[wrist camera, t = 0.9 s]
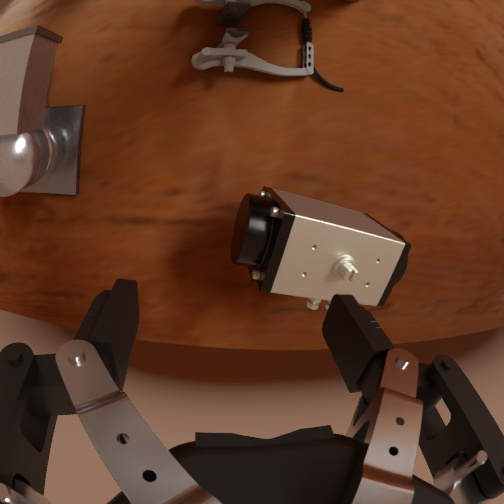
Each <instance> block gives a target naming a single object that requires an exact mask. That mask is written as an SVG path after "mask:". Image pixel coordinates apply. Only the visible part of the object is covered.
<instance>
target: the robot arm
mask: <svg viewBox="0 0 504 504" xmlns="http://www.w3.org/2000/svg"><path fill="white" fill-rule="evenodd" d="M343 1H359V0H343ZM138 324H139V306H138V291H137V282H136V280H127V279H117V280H116V282H115V284H114V286H113V288H112V290H111V291H110V290H103V291H102V292H101V293H100V294H98V295H97V296H96V297H95V298H94V300H93V302H92V304H91V307H90V308H89V310H88V312H87V314H86V316H85V318H84V320H83V322H82V324H81V326H80V328H79V330H78V332H77V334H76V337H75V339H74V340H71V341H68V342H66V343H64V344H63V345H61V346H60V347H59V348H58V350H57V352H56V353H55V354H45V355H34V354H33V352H32V350H31V348H30V347H29V346H28V345H26V344H24V343H12V344H10V345H7V346H6V347H5V348H3V349H2V351H1V352H0V504H51V503H50V501H49V500H48V499H47V498H45V497H44V496H43V494H44V486H45V478H46V471H47V465H48V459H49V453H50V448H51V443H52V438H53V433H54V429H55V425H56V420H57V416H58V415H71V414H77V415H78V417H79V419H80V421H81V423H82V425H83V427H84V429H85V431H86V433H87V434H88V436H89V438H90V440H91V442H92V444H93V445H94V447H95V449H96V451H97V452H98V454H99V456H100V458H101V459H102V461H103V463H104V464H105V466H106V467H107V469H108V471H109V472H110V473H111V475H112V477H113V478H114V480H115V481H116V483H117V484H118V486H119V487H120V489H121V490H122V491H121V492H120V493H119V494H117V496H115V497H114V498H113V499H112V500H111V501H110V502H108V503H107V504H487V503H488V502H490V501H491V500H493V499H494V498H496V497H498V496H499V495H501V494H502V493H503V492H504V435H503V434H502V432H501V430H500V429H499V427H498V425H497V424H496V422H495V420H494V418H493V417H492V415H491V414H490V412H489V411H488V409H487V407H486V406H485V404H484V402H483V401H482V399H481V398H480V396H479V395H478V393H477V392H476V390H475V389H474V387H473V386H472V384H471V383H470V381H469V380H468V378H467V377H466V376H465V374H464V373H463V371H462V370H461V368H460V367H459V366H458V364H457V363H456V362H455V361H454V360H453V359H452V358H450V357H448V356H445V355H438V356H436V357H435V358H434V360H433V361H432V363H431V364H425V363H418V361H417V359H416V358H415V357H414V356H413V355H412V354H411V353H410V352H408V351H406V350H403V349H399V348H395V347H394V346H393V344H392V343H391V341H390V340H389V338H388V337H387V336H386V334H385V333H384V331H383V330H382V328H381V329H380V326H379V324H378V323H377V322H376V320H375V319H374V317H373V316H372V314H371V313H370V312H369V311H367V310H366V309H365V308H364V307H362V306H360V305H359V303H358V302H357V300H356V299H355V298H354V296H353V295H351V294H335V295H334V296H333V297H332V300H331V303H330V305H329V308H328V311H327V314H326V317H325V319H324V322H323V327H322V331H323V336H324V339H325V341H326V343H327V345H328V347H329V349H330V351H331V353H332V355H333V358H334V360H335V362H336V364H337V366H338V368H339V370H340V372H341V375H342V376H343V379H344V381H345V383H346V385H347V388H348V390H349V392H350V393H353V392H359V391H361V392H362V396H361V397H360V399H359V401H358V404H357V407H356V410H355V413H354V416H353V419H352V421H351V424H350V426H349V429H348V432H347V433H346V435H345V436H344V435H339V434H333V431H332V429H331V426H330V425H327V426H321V427H314V428H305V429H299V430H296V431H293V432H291V433H288V434H285V435H282V436H279V437H275V438H272V439H260V438H255V437H249V436H243V435H238V434H233V433H199V432H196V433H195V434H196V435H195V441H193V442H188V443H184V444H181V445H178V446H176V447H173V448H171V449H169V450H167V449H166V447H165V446H164V445H163V444H162V442H161V441H160V440H159V439H158V437H157V436H156V435H155V433H154V432H153V431H152V429H151V428H150V427H149V425H148V424H147V423H146V421H145V420H144V419H143V417H142V416H141V415H140V413H139V412H138V410H137V409H136V407H135V406H134V404H133V403H132V402H131V400H130V399H129V397H128V396H127V394H126V393H125V392H120V391H123V386H124V382H125V377H126V373H127V369H128V365H129V360H130V356H131V352H132V348H133V344H134V341H135V337H136V333H137V329H138ZM441 398H443V400H444V402H445V404H446V405H447V407H448V409H449V411H450V413H451V420H450V422H449V424H448V425H447V426H445V424H444V422H443V420H442V418H441V416H440V415H439V413H438V411H437V409H436V407H435V405H436V404H437V403H438V402H439V400H440V399H441ZM418 444H419V446H420V448H421V450H422V453H423V455H424V457H425V460H426V462H427V464H428V467H429V469H430V471H431V474H432V476H433V479H434V485H431V484H429V483H427V482H426V481H424V480H422V479H420V478H418V477H416V476H415V475H413V470H414V465H415V459H416V454H417V449H418Z"/></svg>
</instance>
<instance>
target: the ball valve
mask: <svg viewBox="0 0 504 504" xmlns="http://www.w3.org/2000/svg"><path fill="white" fill-rule="evenodd" d="M410 248H411V244H410V243H408V242H407V241H405V239H404V238H403V237H402V236H401V235H400V234H399V233H397V232H394V231H391V230H390V229H388V228H387V227H385V226H384V225H383V224H381V223H380V222H378V221H377V220H375V219H374V218H372V217H371V216H369V215H367V214H364V213H361V212H357V211H354V210H351V209H347V208H344V207H340V206H337V205H333V204H330V203H326V202H323V201H319V200H315V199H312V198H308V197H304V196H300V195H297V194H293V193H289V192H285V191H281V190H277V189H273V188H269V187H264V186H263V189H262V191H260V193H259V196H258V195H254V194H249V193H248V194H246V195H245V196H244V197H243V199H242V202H241V204H240V207H239V210H238V213H237V217H236V221H235V225H234V231H233V237H232V245H231V259H232V262H233V263H234V264H238V265H244V266H248V268H249V272H250V276H251V279H252V282H254V283H258V286H259V289H260V291H264V292H271V293H278V294H285V295H292V296H299V297H307V298H309V300H308V302H307V307H308V308H310V309H313V310H316V309H317V308H318V306H319V303H320V302H321V299H323V300H328V301H327V303H326V305H325V308H326V309H327V310H328V308H329V305H330V303H331V300H332V297H333V296H334V295H335V294H351V295H353V296H354V298H355V299H356V300H357V302H358V303H359V304H365V305H374V306H384V304H385V302H386V300H387V298H388V296H389V294H390V292H391V290H392V288H393V286H395V285H396V284H397V283H398V282H399V281H400V280H401V278H402V277H403V275H404V273H405V270H406V267H407V263H408V253H409V251H410Z"/></svg>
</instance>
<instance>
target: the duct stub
mask: <svg viewBox="0 0 504 504" xmlns="http://www.w3.org/2000/svg"><path fill="white" fill-rule="evenodd" d="M85 107H86V105H74V106H56V107H45V115H44V125H43V131H44V132H45V134H46V136H47V139H48V142H49V148H50V156H49V163H48V166H47V169H46V171H45V173H44V175H43V176H42V178H41V179H40V180H39V181H38V182H37V183H35V184H33V185H31V186H29V187H27V188H25V189H23V190H20V191H18V192H35V193H53V194H69V195H77V194H78V193H79V172H80V154H81V141H82V131H83V122H84V114H85Z"/></svg>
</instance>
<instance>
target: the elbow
mask: <svg viewBox="0 0 504 504" xmlns="http://www.w3.org/2000/svg"><path fill="white" fill-rule="evenodd" d="M62 39H63V37H62V36H60V35H58V34H56V33H54V32H52V31H49V30H47V29H45V28H43V27H41V26H39V25H37V26H33V27H29V28H25V29H22V30H19V31H15V32H12V33H9V34H6V35H3V36H0V196H1V197H7V196H10V195H12V194H14V193H16V192H18V191H20V190H23V189H25V188H27V187H29V186H31V185H33V184H35V183H37V182H38V181H39V180H40V179H41V178H42V176H43V175H44V173H45V171H46V169H47V166H48V163H49V156H50V148H49V142H48V139H47V136H46V134H45V132H44V131H43V125H44V115H45V107H46V100H47V94H48V88H49V82H50V77H51V72H52V67H53V62H54V58H55V54H56V50H57V46H58V43H62Z"/></svg>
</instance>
